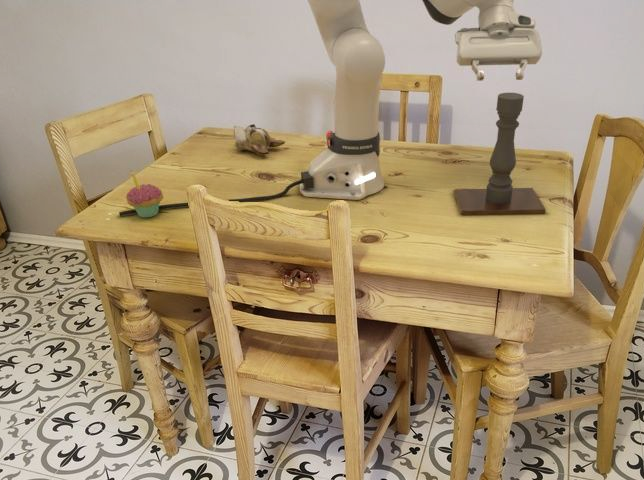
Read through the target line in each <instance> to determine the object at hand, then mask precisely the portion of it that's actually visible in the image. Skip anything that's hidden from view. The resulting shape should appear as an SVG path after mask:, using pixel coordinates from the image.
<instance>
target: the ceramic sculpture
mask: <svg viewBox="0 0 644 480" xmlns="http://www.w3.org/2000/svg"><path fill="white" fill-rule="evenodd" d="M233 137H234V141H235V142H234V143H235V147H236V149H237V150H238V151H242V152H243V151H244V150H247V151H250V152H253V153H255V154H256V155H258V156H265V155H270V152H269V150H268V149H269V148H278V147H280V146H283V145H285V143H286V142H285V141H279V140H277V139H276V138H275V137H272V136H270V134H269V133H268V132H267V130H265V128H262V127H257V126H256V125H255V124H250V125H248V126H246V128H244V127H243V126H237V125H233Z"/></svg>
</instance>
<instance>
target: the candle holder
mask: <svg viewBox="0 0 644 480" xmlns="http://www.w3.org/2000/svg"><path fill="white" fill-rule="evenodd" d="M524 97H525V95H524V94H521V93H517V92H502V93H498V95H497V100H496V111H497V112H496V114H497V115H498V118H499V119H498V120H497V121H495V125H496V127H497V137H496V142H495V144H494V148H493V151H492V154H491V156H490V159H489V167H490V169H491V172H492V175H490V177H489V179H488V183H487V185H486V189H487V191H486V200H487V201H489V202H491V203H495V204H505V203H508V202H510V201H511V198H512V190H513V188H514V186H513V185H512V184H513V179H512V177H511V174H512V172H513V171H514V169H515V167H516V165H517V157H516V150H515V147H516V146H515V136H516V130H517V128H518V127H519V125H520V123H519V121H518V118H519V117H520V115H521V112H523V106H524Z"/></svg>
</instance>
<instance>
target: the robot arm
mask: <svg viewBox="0 0 644 480" xmlns="http://www.w3.org/2000/svg"><path fill="white" fill-rule="evenodd" d="M421 1H422V2H423V5H424V7H425V9H426V11H427V13H428V15H429V16H430V18H431V19H432V20H433V21H435V22H436V23H438V24H441V25H445V26H449V25H452V24H454V23H455V22H456V21H457V20H459V19H460V18H462V16H463V15H464V14H466V13H467V12H469V11H470V10H472V9H474V8H477V9H478V11H479V13H478V17H477V20H478V27H470V28H467V27H463V28H460V29H458V30H457V31H455V33H454V41H455V44H456V45H457V49H456V63H457V64H458V65H459V66H460V67H468V66H469V67H471V70H472V72H473V73H474V74H475V75H476V81H478V82H480V81H481V82H482V81H484V79H485V70H481V69H480V67H479V66H512V65H514V66H517V65H518V66H519V68H520V69H516V72H515V80H516V81H522V80H523V79H524V71H525V69H526V67H527V65H536V64H537V63H539V61H540V59H541V58H542V56H543V48H542V41H541V36H540V33H539V31H538V30H537V29H536V28H535V27H536V22H537V21H536V19H535V18H534V17H531V16H528V15H525V14H521V13H519V12H516V11H515V8H514V0H421ZM307 2H308V5H309V7H310V10H311V12H312V14H313V17H314V20H315V22H316V25H317V26H316V27H317V28H318V31H319V35H320V37H321V39H322V42H323V45H324V48H325V50H326V53H327V56H328V58H329V60H330V61H331V63H332V64H333V66H334V68H335V72H336V76H335V78H336V79H335V95H334V99H333V119H334V122H333V123H334V132H333V130H327V132H326V133H325V138H326V145H327V146H326V149H325V150H323V151H321V152H320V153H319V154H318V155H317V156H315V157H314V158H312V160H311V162H310V163H309V166H308V168H307V170H306V171H301V172H300V179H299V180H297V181H294V182H292V183H290V184H288V185H287V186H286V187H285V188H284V190H283V191H281V192H279V193H276V194H272V195H263V196H253V197H244V198H243V197H242V198H233V199H232V198H231V199H228V200H229V201H239V202H240V203H248V202H257V201H268V200H273V199H279V198H281V197H283V196H286V195H287V194H288V192H289V191H290V190H291V189H292V188H294V187H297V186H298V185H299V193H301V195H302V196H304V197H307V198H322V199H338V200H351V201H359V200H363V199H364V198H366V197H367V196H370V195H373V194H376V193H378V192H380V191H382V190H383V189H384V187H385V181H384V178H383V175H382V170H381V164H380V163H381V162H380V154H381V136H380V135H381V134H380V131H379V101H380V93H381V86H382V79H383V72H384V70H385V66H386V56H385V51H384V48H383V46H382V44H381V43H380V40H378V39H377V38H376V37H375V36H373V35H372V34H371V32H370V31H369V28H368V27H367V24H366V20H365V17H364V14H363V13H364V12H363V10H362V6H361V2H360V0H307ZM184 207H189V206H188V202H179V203H178V202H177V203H170V204H161V205H160V204H159V210H166V209H174V208H175V209H176V208H184ZM118 214H119V217H122V216H128V215H133V214H138V213H137V211H136V210H135V208H133V209H129V210H122V211H119V212H118Z"/></svg>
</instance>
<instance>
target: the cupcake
mask: <svg viewBox="0 0 644 480" xmlns="http://www.w3.org/2000/svg"><path fill="white" fill-rule="evenodd" d="M130 172H131V173H130V175H131V177H132V179H133V183H134V185H135V186H134V187H132V188H131V189H130V190H129V191H128V192H127V193H126V202H127V204H128V205H129V206H131V207H133V209H135V210H136V211H137V213H136V214H137V215H138V216H139V217H140V218H151V217H154V216H157V215H158V214H159V210H160V209H159V206H160V203H161V202H162V200H163V199H164V195H163V192H162V190H161V189H160V188H159V187H157V186H155V185H154V184H150V183H147V184H141V185H139V182H138V179H137V177H136V174H135V172H133V170H132V169H131V170H130Z"/></svg>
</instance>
